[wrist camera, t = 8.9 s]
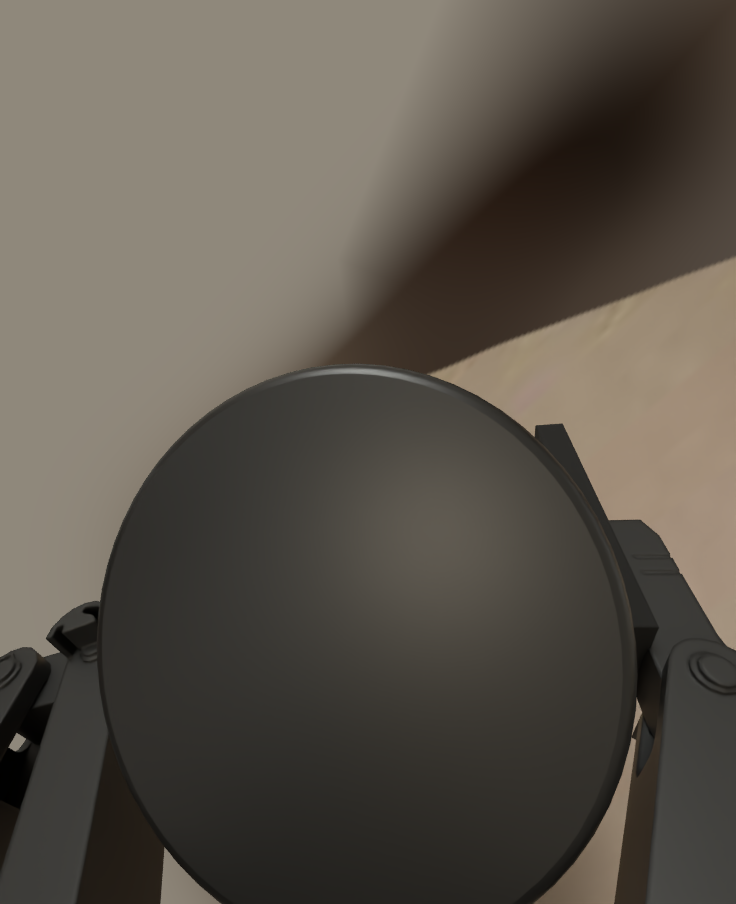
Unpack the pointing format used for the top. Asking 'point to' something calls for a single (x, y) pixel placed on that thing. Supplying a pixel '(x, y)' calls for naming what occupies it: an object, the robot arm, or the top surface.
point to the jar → (366, 648)
